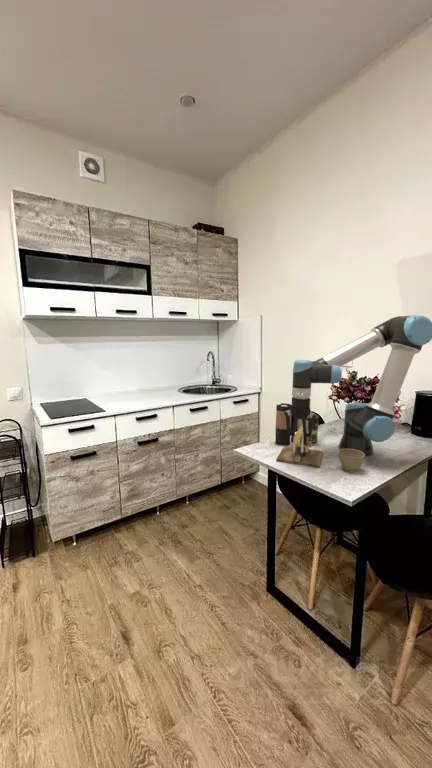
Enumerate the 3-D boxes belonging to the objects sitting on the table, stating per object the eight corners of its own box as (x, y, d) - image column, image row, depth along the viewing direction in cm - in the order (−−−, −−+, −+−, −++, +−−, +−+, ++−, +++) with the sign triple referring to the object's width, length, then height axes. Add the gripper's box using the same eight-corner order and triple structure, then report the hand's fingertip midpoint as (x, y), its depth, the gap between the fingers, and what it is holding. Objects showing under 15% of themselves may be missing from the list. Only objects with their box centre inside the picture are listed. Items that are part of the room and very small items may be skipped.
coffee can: (317, 440, 173) (319, 414, 171) (316, 446, 163) (318, 419, 161) (297, 438, 176) (298, 412, 174) (295, 444, 167) (296, 417, 164)
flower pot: (338, 463, 144) (339, 447, 143) (363, 466, 140) (364, 450, 139) (336, 472, 135) (338, 455, 133) (363, 476, 131) (365, 459, 130)
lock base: (322, 453, 155) (323, 441, 154) (319, 468, 138) (319, 454, 137) (284, 447, 161) (284, 436, 160) (276, 461, 145) (276, 448, 144)
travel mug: (290, 446, 163) (292, 407, 160) (274, 445, 165) (276, 406, 161) (290, 441, 170) (292, 403, 167) (275, 440, 172) (276, 402, 169)
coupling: (296, 440, 159) (297, 423, 157) (313, 443, 155) (314, 425, 154) (287, 453, 143) (288, 434, 141) (306, 456, 139) (307, 436, 138)
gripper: (280, 397, 138) (278, 451, 142) (319, 400, 132) (316, 456, 136) (284, 394, 145) (281, 445, 149) (321, 397, 139) (318, 450, 143)
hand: (298, 450), depth 142 cm, fingers open, 3 cm apart
